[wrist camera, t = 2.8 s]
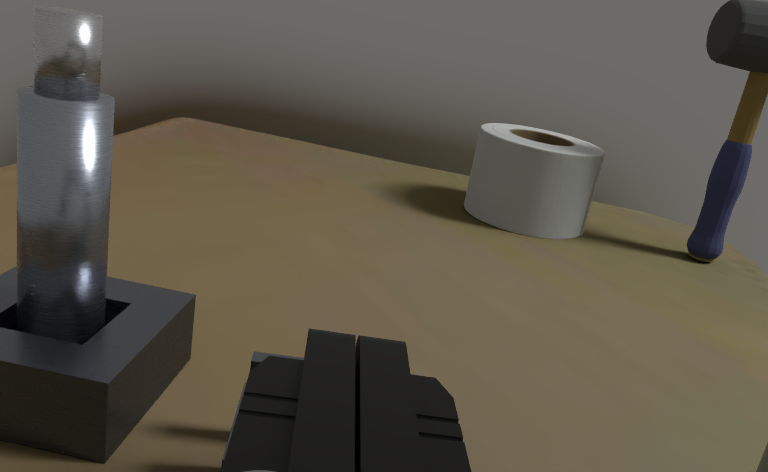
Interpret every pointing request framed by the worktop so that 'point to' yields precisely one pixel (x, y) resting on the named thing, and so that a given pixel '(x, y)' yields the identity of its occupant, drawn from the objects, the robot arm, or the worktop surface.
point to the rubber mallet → (764, 61)
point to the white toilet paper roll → (532, 181)
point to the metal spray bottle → (63, 180)
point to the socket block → (91, 370)
